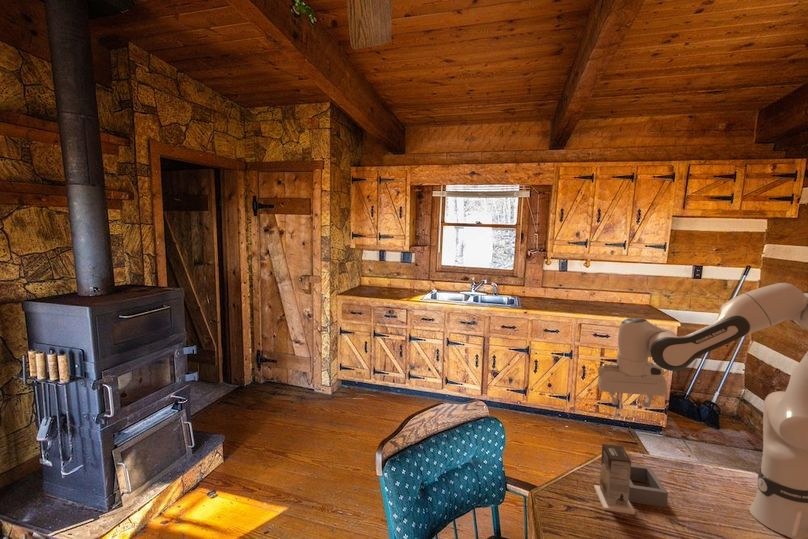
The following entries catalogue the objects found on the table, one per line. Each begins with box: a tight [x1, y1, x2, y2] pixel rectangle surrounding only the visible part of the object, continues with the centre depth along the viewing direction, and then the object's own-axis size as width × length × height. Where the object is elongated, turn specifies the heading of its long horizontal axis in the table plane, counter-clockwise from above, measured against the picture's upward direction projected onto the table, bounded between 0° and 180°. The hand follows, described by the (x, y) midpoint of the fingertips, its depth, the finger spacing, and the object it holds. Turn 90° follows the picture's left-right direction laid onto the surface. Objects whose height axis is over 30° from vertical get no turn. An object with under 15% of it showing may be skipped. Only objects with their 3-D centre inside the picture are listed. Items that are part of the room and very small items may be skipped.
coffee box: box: [599, 443, 632, 508], centre depth 122 cm, size 9×6×16 cm
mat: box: [593, 484, 636, 516], centre depth 123 cm, size 9×11×1 cm
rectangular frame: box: [628, 463, 669, 508], centre depth 128 cm, size 11×14×5 cm
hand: (630, 405), depth 126 cm, fingers open, 8 cm apart
